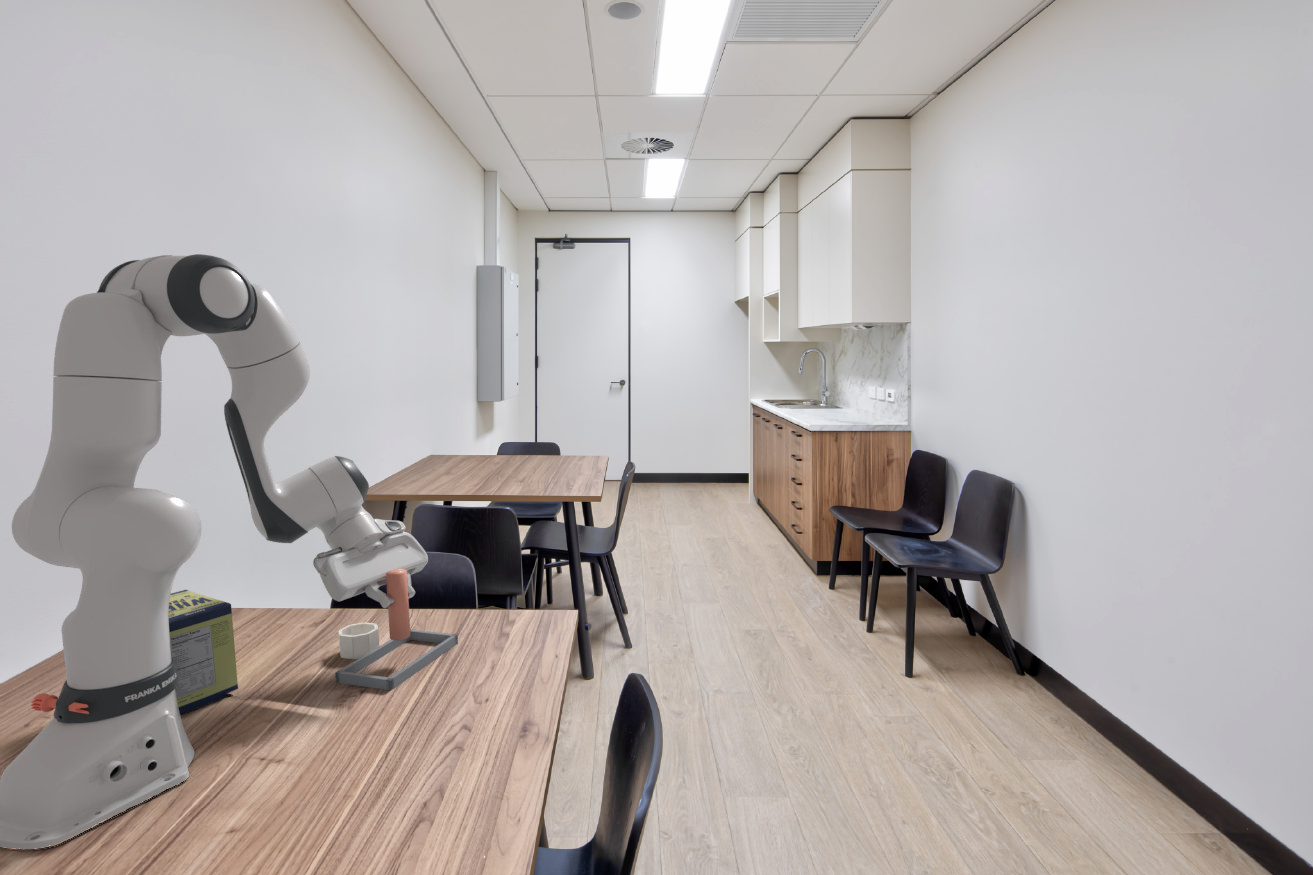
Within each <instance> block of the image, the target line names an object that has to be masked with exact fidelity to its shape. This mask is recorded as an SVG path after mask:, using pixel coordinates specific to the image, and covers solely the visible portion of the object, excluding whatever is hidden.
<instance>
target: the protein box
mask: <svg viewBox="0 0 1313 875" xmlns="http://www.w3.org/2000/svg"><path fill="white" fill-rule="evenodd" d="M232 610H233V609H232V603H231V602H230V603H229V602H227V601H224V600H220V599H217V598H213V597H210V596H207V595H204V594H201V593H197V592H194V591H191V590H189V589H182V590H179V591H175V592H171V593H170V599H169V609H168V617H169V634H170V648H171V656H172V657H173V658H174V659H175V663H176V670H177V680H178V684H177V686H176V690H175V692H176V698H177V703H178V708H179V712H180V716H183V715H185V714H187V713H190V712H192V711H194V710H197V709H199V708H200V709H201V708H202V707H204V706H208V705H210V704H212V703H215V702H217V701H220V700H222V699H225V698H227V697H230V696H232V695H233V694H231V693H230V692H234V691H235V690H238V689H239V682H238V681H239V680H238V671H237V660H236V659H237V658H236V648H235V636H234V633H235V632H234V624H233V613H232V612H233V611H232Z"/></svg>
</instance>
